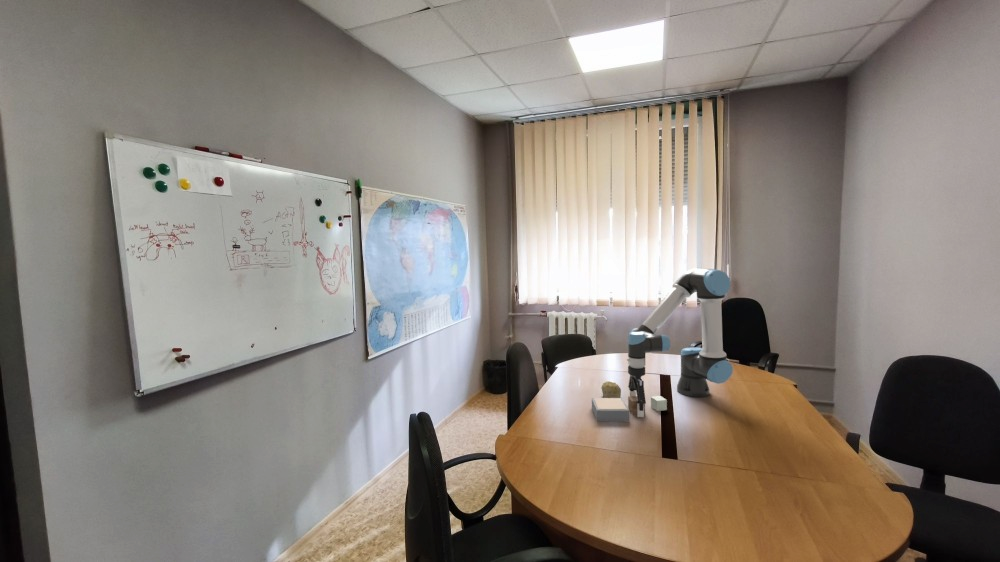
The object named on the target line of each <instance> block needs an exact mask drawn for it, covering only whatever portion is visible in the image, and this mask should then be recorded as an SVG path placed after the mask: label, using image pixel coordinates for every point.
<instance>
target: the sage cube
mask: <svg viewBox="0 0 1000 562" xmlns="http://www.w3.org/2000/svg"><path fill="white" fill-rule="evenodd" d="M667 400H668V399H666V398H664V397H663V396H662V395H655V396H650V407H651V408H652V409H653V410H654V411H656V412H661V411H668V407H667V406H668V404H667V403H668V401H667Z"/></svg>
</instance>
